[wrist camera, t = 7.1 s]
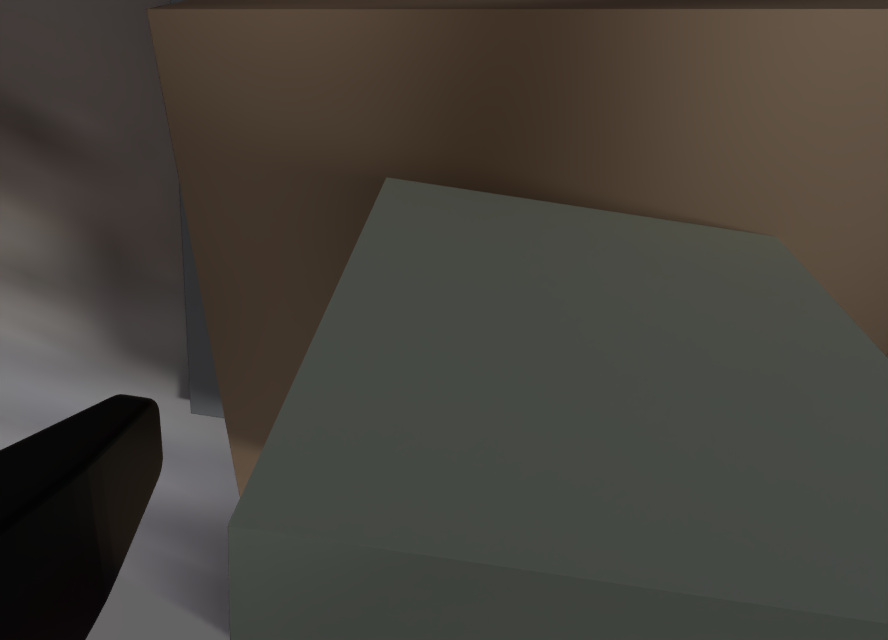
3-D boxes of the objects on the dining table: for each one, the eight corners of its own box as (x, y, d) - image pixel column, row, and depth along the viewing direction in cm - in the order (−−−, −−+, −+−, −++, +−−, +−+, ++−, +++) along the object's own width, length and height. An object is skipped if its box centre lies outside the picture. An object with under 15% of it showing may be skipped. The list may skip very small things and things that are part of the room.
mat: (997, -2, 12) (1012, 0, 12) (766, 488, 17) (771, 500, 17) (173, -128, 12) (163, -130, 11) (197, 403, 17) (191, 413, 17)
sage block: (775, 236, 9) (1167, 663, 4) (664, 522, 11) (806, 1026, 6) (387, 177, 9) (226, 525, 4) (357, 477, 11) (235, 945, 6)
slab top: (900, -8, 10) (1007, 9, 8) (755, 514, 14) (799, 611, 12) (216, -6, 10) (146, 9, 8) (289, 494, 15) (256, 583, 13)
